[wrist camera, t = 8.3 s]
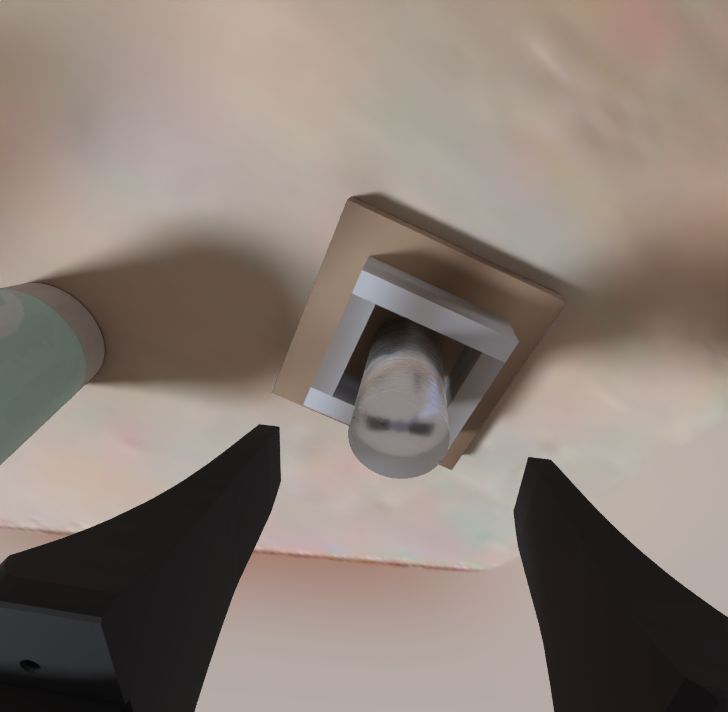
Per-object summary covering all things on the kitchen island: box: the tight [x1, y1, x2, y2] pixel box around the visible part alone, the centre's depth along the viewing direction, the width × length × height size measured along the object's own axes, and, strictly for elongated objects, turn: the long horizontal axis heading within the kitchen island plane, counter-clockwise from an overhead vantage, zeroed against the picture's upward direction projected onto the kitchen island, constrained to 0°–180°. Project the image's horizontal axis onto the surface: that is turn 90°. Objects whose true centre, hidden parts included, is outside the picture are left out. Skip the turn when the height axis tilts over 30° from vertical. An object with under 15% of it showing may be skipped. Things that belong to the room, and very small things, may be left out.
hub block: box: [272, 197, 566, 470], centre depth 20 cm, size 10×10×4 cm
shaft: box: [348, 317, 450, 478], centre depth 17 cm, size 3×3×7 cm
